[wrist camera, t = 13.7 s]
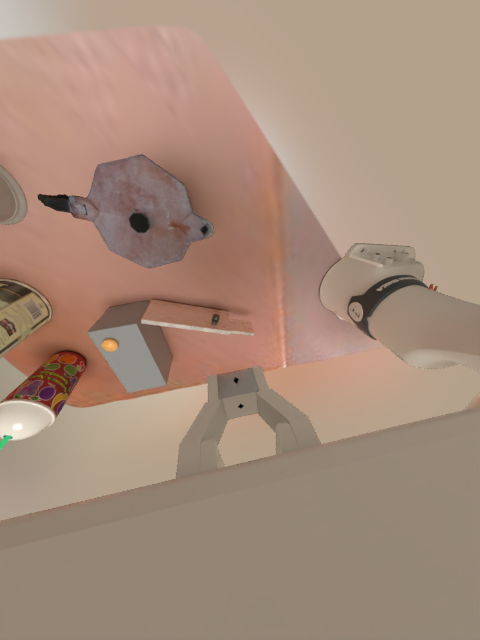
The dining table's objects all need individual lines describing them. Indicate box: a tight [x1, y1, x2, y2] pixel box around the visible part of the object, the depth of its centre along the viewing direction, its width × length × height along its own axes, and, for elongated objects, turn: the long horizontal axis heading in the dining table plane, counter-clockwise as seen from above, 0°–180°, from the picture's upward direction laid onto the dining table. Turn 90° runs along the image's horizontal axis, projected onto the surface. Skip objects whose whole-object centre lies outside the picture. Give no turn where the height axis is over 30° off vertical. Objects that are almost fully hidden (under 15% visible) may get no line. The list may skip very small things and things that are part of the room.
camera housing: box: [87, 301, 172, 393], centre depth 40 cm, size 8×17×10 cm, turn 6°
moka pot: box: [38, 154, 214, 268], centre depth 24 cm, size 10×15×20 cm, turn 83°
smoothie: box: [0, 352, 85, 450], centre depth 36 cm, size 8×8×20 cm
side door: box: [141, 299, 255, 336], centre depth 39 cm, size 2×21×8 cm, turn 75°
